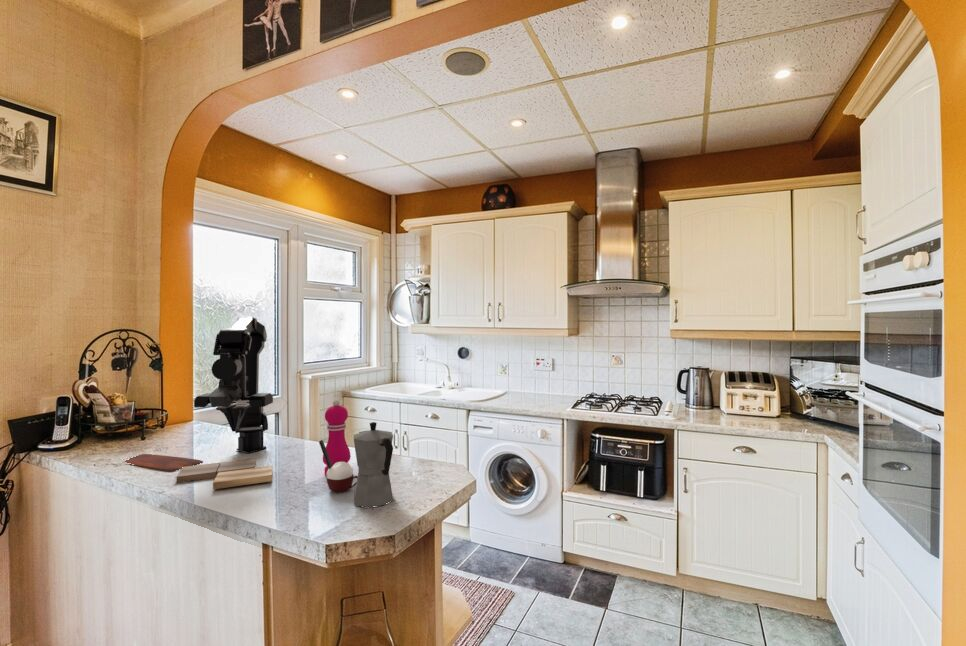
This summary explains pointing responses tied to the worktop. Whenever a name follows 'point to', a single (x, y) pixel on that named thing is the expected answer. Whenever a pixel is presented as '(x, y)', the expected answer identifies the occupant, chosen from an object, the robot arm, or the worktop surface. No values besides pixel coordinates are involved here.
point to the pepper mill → (336, 435)
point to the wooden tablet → (162, 462)
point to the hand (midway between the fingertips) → (234, 431)
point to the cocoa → (338, 473)
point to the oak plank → (243, 477)
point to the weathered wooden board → (213, 469)
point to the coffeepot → (373, 467)
